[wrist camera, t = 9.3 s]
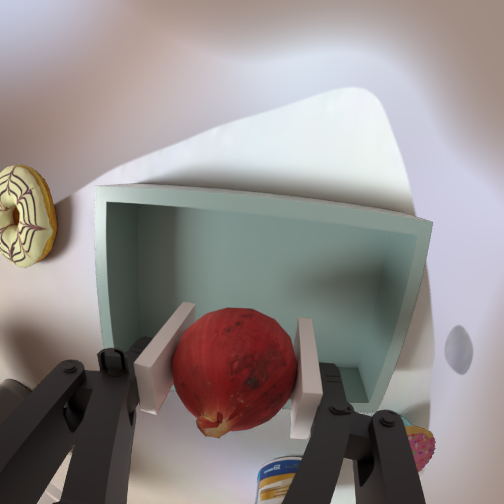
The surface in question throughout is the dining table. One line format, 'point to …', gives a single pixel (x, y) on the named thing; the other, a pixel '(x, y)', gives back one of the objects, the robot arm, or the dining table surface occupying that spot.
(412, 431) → the cupcake
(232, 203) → the bin
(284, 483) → the beverage bottle
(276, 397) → the red round fruit
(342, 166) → the dining table surface
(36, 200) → the decorated donut
